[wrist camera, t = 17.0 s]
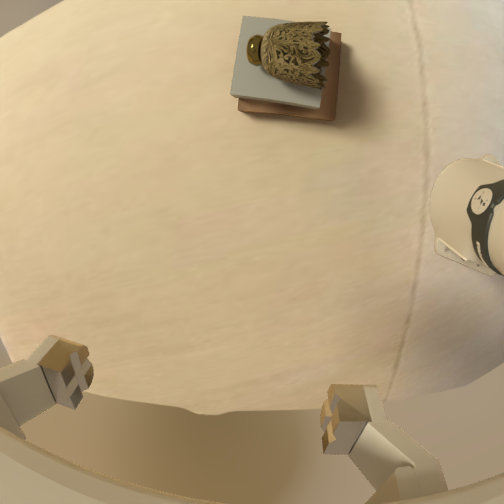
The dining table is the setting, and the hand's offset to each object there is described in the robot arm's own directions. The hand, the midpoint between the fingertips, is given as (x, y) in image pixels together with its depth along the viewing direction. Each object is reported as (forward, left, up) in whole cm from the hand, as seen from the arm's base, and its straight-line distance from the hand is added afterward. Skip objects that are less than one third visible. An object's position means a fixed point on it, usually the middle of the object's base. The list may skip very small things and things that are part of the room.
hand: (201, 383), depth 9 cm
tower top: (+5, -15, -33) cm, 37 cm away
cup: (+8, -14, -27) cm, 32 cm away
